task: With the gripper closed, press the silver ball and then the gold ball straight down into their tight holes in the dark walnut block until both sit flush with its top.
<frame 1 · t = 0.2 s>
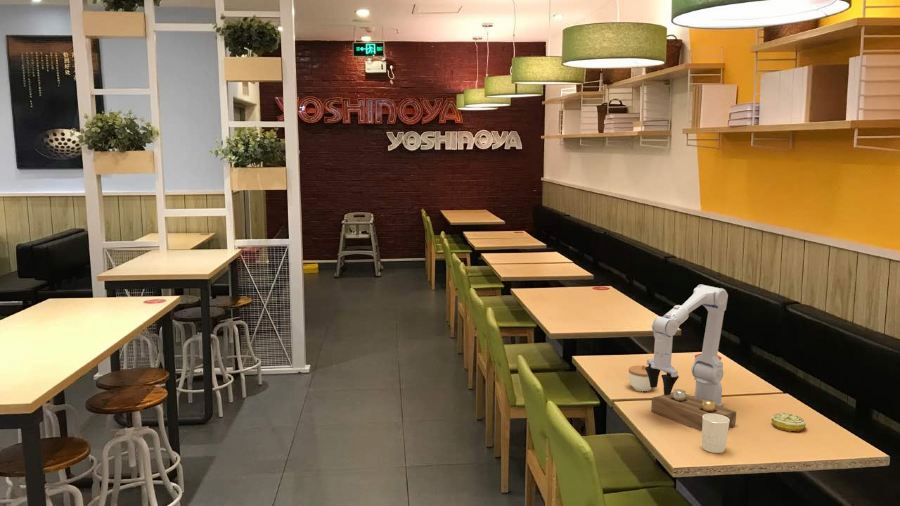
hand: (660, 390, 251), 10 cm above the table, tool pointing down, fingers open, 7 cm apart
white cup: (713, 449, 228), on the table
walnut block: (692, 418, 254), on the table
silver ball: (679, 397, 258), point 6 cm above the table, slide at 3.0 cm
yellow green round disc: (788, 428, 248), on the table
gold ball: (708, 407, 248), point 6 cm above the table, slide at 3.0 cm
lidded jar: (641, 389, 283), on the table
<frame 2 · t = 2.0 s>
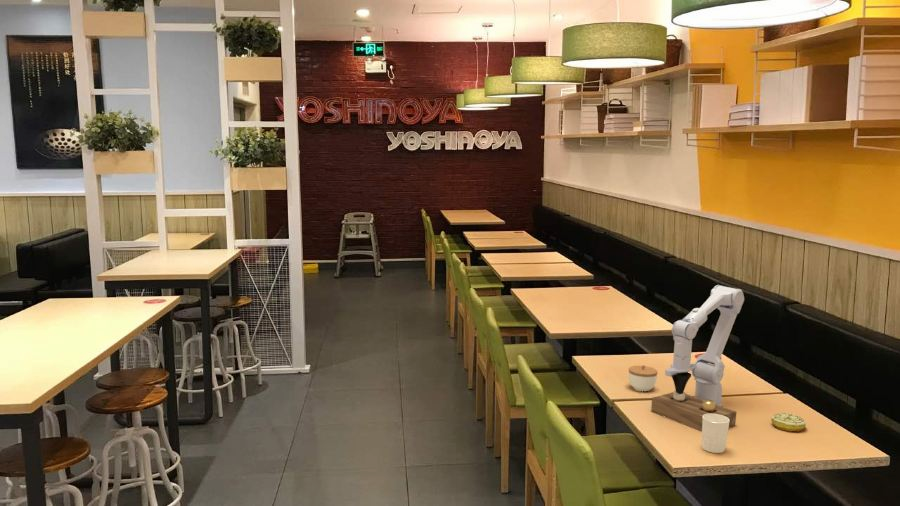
hand: (679, 392, 257), 7 cm above the table, tool pointing down, fingers closed, pressing on silver ball
silver ball: (678, 398, 258), point 5 cm above the table, slide at 2.4 cm, touching gripper
everything else where it was.
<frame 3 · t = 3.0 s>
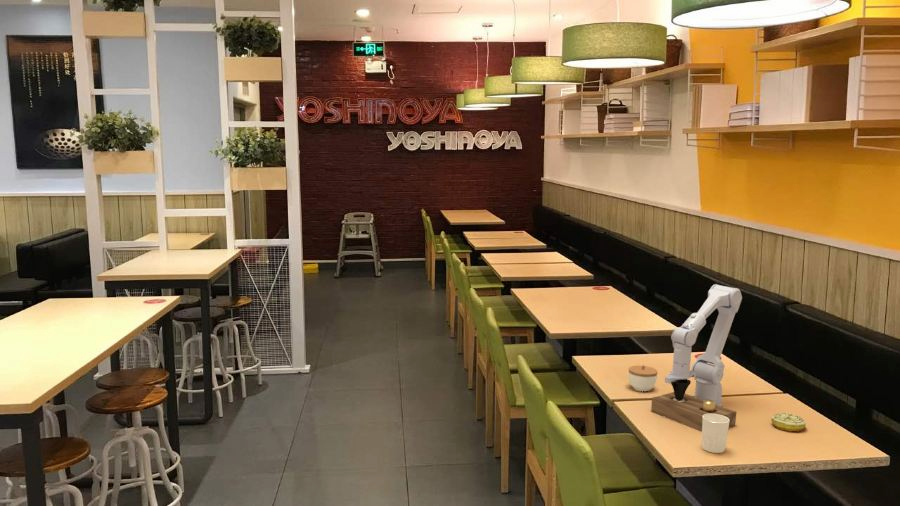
hand: (678, 399, 258), 5 cm above the table, tool pointing down, fingers closed
silver ball: (678, 405, 258), point 3 cm above the table, slide at -0.1 cm
everything else where it was.
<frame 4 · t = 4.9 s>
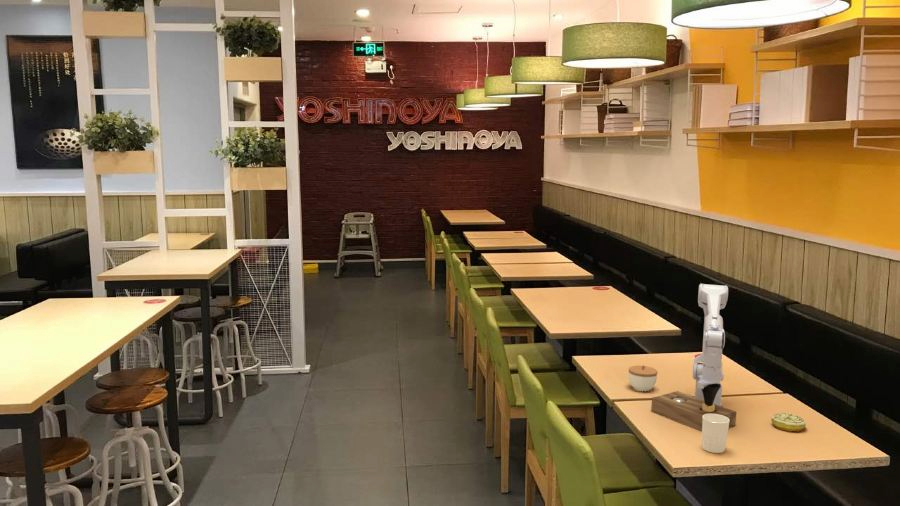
hand: (708, 404, 248), 7 cm above the table, tool pointing down, fingers closed, pressing on gold ball
gold ball: (708, 410, 248), point 5 cm above the table, slide at 1.9 cm, touching gripper
everything else where it was.
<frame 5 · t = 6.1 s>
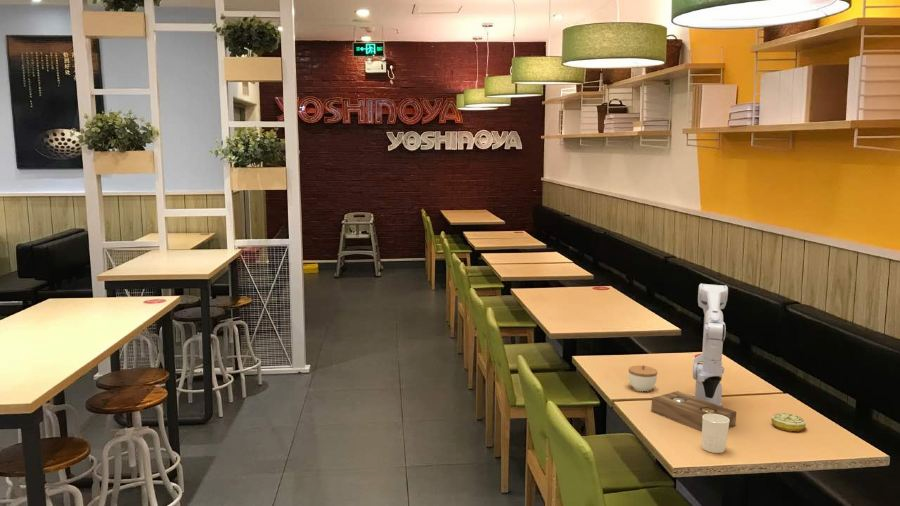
hand: (709, 397, 247), 9 cm above the table, tool pointing down, fingers closed
gold ball: (707, 416, 248), point 3 cm above the table, slide at -0.1 cm
everything else where it was.
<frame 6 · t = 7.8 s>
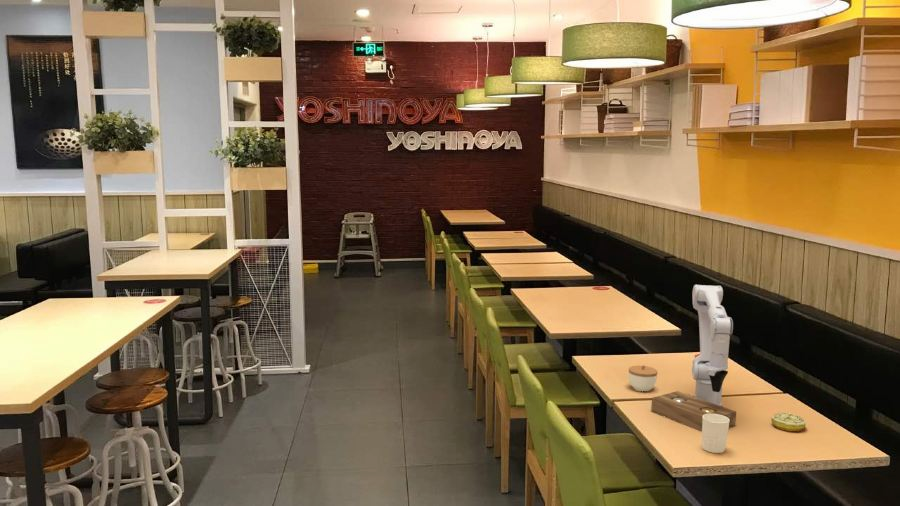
hand: (716, 391, 251), 10 cm above the table, tool pointing down, fingers closed
nothing on the table moved.
at the end: silver ball slide at -0.1 cm; gold ball slide at -0.1 cm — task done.
